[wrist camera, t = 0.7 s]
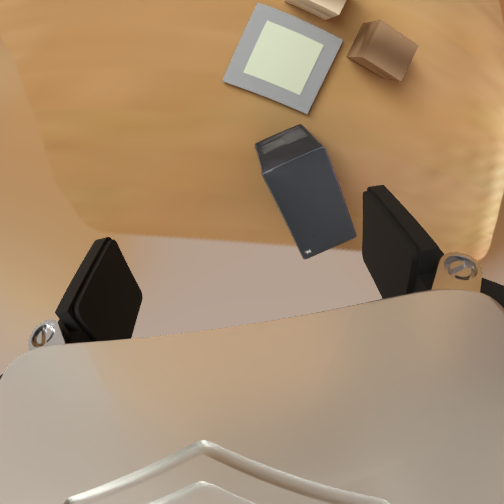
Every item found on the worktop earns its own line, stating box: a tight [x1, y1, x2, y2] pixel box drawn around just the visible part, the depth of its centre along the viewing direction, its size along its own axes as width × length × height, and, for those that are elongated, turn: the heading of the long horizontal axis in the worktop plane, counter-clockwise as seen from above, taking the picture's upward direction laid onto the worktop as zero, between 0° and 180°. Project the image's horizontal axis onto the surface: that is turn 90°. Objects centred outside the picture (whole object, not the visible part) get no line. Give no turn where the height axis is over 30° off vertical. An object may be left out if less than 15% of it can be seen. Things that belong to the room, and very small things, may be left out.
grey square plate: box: [223, 3, 343, 114], centre depth 28 cm, size 10×10×1 cm
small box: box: [255, 124, 356, 259], centre depth 32 cm, size 11×6×10 cm, turn 26°
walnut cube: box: [347, 20, 418, 82], centre depth 26 cm, size 5×5×5 cm
